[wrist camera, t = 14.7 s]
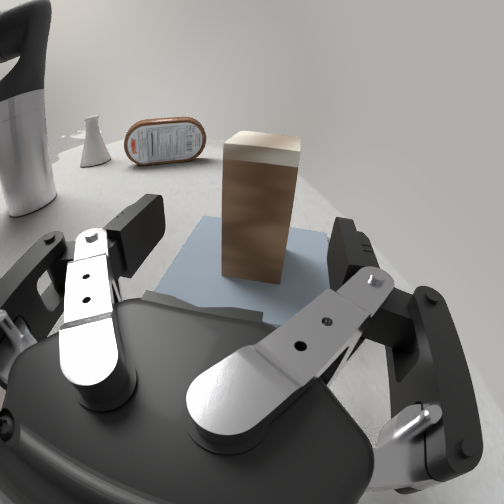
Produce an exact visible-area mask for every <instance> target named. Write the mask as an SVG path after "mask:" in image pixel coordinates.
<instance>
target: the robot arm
mask: <svg viewBox="0 0 504 504" xmlns="http://www.w3.org/2000/svg"><path fill="white" fill-rule="evenodd" d="M51 13H52V11H51V3H50V1H49V0H30V1H27V2H25V3H22V4H20V5H17V6H15V7H12V8H10V9H8V10H5V11H0V63H3V62H6V61H8V60H11V59H13V58H16V57H18V56H20V58H19V60H18V62H17V64H16V65H15V66H14V68H13V69H12V70H11V71H10V72H9V73H8V74H7V75H6V76H5V77H4V78H3V79H2V80H0V181H1V185H2V189H3V194H4V198H5V202H6V205H7V209H8V212H9V215H11V216H21V215H25V214H28V213H31V212H33V211H35V210H37V209H39V208H41V207H43V206H45V205H46V204H48V203H49V202H50V201H52V200H53V199H54V198H55V196H56V188H55V183H54V178H53V172H52V166H51V160H50V154H49V148H48V139H47V129H46V118H45V103H44V75H45V59H46V49H47V41H48V35H49V29H50V23H51ZM164 233H165V215H164V204H163V198H162V196H161V195H154V194H145V195H144V196H143V197H142V198H140V199H139V200H138V201H137V202H136V203H134V204H132V205H130V206H128V207H127V208H125V209H124V210H123V211H122V212H121V213H120V214H118V215H117V216H116V218H114V219H113V220H112V221H110V222H109V223H108V224H107V225H106V226H105V227H104V228H103V229H102V228H93V229H89V230H86V231H84V232H83V233H81V234H80V235H79V236H78V237H77V239H76V241H71V242H65V239H64V235H63V233H62V232H58V231H56V232H51V233H48V234H46V235H45V236H43V237H42V238H41V239H39V240H38V241H37V242H36V243H35V244H34V245H33V246H32V247H31V248H30V249H29V250H28V251H27V252H26V253H25V254H24V255H23V256H22V257H21V258H20V259H19V260H18V261H17V262H16V263H15V264H14V265H13V266H12V267H11V268H10V269H9V271H8V272H7V273H6V274H5V275H4V276H3V277H2V278H1V279H0V386H1V387H2V388H3V389H5V390H6V394H5V399H4V402H3V406H2V409H1V411H0V504H357V503H358V501H359V499H360V498H361V496H362V495H363V493H364V492H367V491H381V490H390V489H394V490H395V491H396V492H398V493H400V494H411V493H414V492H417V491H421V490H424V489H427V488H430V487H433V486H435V485H438V484H441V483H443V482H446V481H448V480H451V479H453V478H456V477H458V476H460V475H463V474H465V473H467V472H469V471H471V470H473V469H474V468H475V467H476V466H477V464H478V463H479V461H480V459H481V457H482V453H483V440H482V432H481V425H480V419H479V413H478V408H477V403H476V398H475V393H474V389H473V385H472V381H471V377H470V373H469V369H468V365H467V362H466V359H465V355H464V352H463V349H462V346H461V342H460V339H459V337H458V334H457V331H456V328H455V325H454V322H453V320H452V317H451V314H450V312H449V309H448V307H447V304H446V302H445V300H444V298H443V296H442V295H441V294H440V293H438V292H437V291H436V290H434V289H433V288H430V287H427V286H419V287H417V288H416V289H415V291H414V293H413V295H412V294H409V293H407V292H404V291H401V290H399V289H397V288H395V287H394V280H393V278H392V277H391V276H390V275H389V274H388V273H387V272H385V271H384V270H382V269H380V267H379V264H378V262H377V259H376V256H375V253H374V251H373V248H372V245H371V243H370V240H369V238H368V237H367V236H366V235H365V234H364V233H363V232H359V231H357V230H356V227H355V224H354V221H353V220H352V219H346V218H340V217H336V219H335V222H334V226H333V230H332V234H331V238H330V242H329V246H328V251H327V266H328V276H329V286H330V288H328V289H326V290H325V291H324V292H323V293H321V294H320V295H319V296H318V297H317V298H315V299H314V300H313V301H312V302H310V303H309V304H308V305H307V306H306V307H304V308H303V309H302V310H300V311H299V312H298V313H297V314H295V315H294V316H293V317H292V318H290V319H289V320H288V321H286V322H285V323H284V324H283V325H281V326H280V327H279V328H276V327H274V326H272V325H270V324H268V323H266V322H263V321H262V320H263V312H260V311H254V310H248V309H241V308H235V307H197V306H195V305H192V304H190V303H188V302H185V301H183V300H181V299H178V298H176V297H174V296H171V295H166V294H162V293H157V292H152V291H148V290H146V291H145V293H144V295H143V296H142V298H135V299H128V300H124V301H123V297H122V292H121V286H120V282H119V277H120V276H122V277H127V278H132V276H133V275H134V274H135V272H136V271H137V270H138V268H139V267H140V266H141V264H142V263H143V262H144V260H145V259H146V258H147V256H148V255H149V254H150V252H151V251H152V250H153V249H154V247H155V246H156V245H157V243H158V242H159V241H160V240H161V238H162V237H163V235H164ZM46 270H47V272H48V274H49V276H50V279H51V281H52V283H51V284H50V285H49V286H48V288H47V289H46V290H45V291H44V293H43V294H42V295H41V296H40V295H39V293H38V291H37V281H38V279H39V278H40V277H41V275H42V274H43V273H44V272H45V271H46ZM63 312H64V325H63V326H61V327H60V331H59V332H57V333H55V334H53V335H51V336H49V337H47V336H48V334H49V333H50V331H51V330H52V328H53V327H54V325H55V324H56V322H57V321H58V319H59V318H60V316H61V315H62V313H63ZM46 337H47V338H46ZM367 339H369V340H372V341H375V342H377V343H380V344H383V345H385V349H386V357H387V366H388V376H389V388H390V403H391V420H390V421H389V422H387V423H386V424H385V425H384V426H383V427H382V429H381V431H380V434H379V439H378V443H377V445H376V447H375V449H373V448H372V445H371V443H370V441H369V439H368V437H367V436H366V434H365V433H364V432H363V431H362V429H361V428H360V427H359V426H358V424H357V423H356V422H355V421H354V419H353V418H352V417H351V416H350V414H349V413H348V412H347V411H346V409H345V408H344V407H343V406H342V404H341V403H340V402H339V401H338V399H337V398H336V397H335V395H334V394H333V393H332V392H331V390H330V389H329V388H328V387H329V386H330V385H331V383H332V382H333V381H334V380H335V378H336V377H337V376H338V374H339V373H340V372H341V370H342V369H343V368H344V367H345V365H346V364H347V363H348V362H349V361H350V360H351V358H352V357H353V356H354V355H355V353H356V352H357V351H358V350H359V349H360V347H361V346H362V345H363V344H364V342H365V341H366V340H367Z"/></svg>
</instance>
